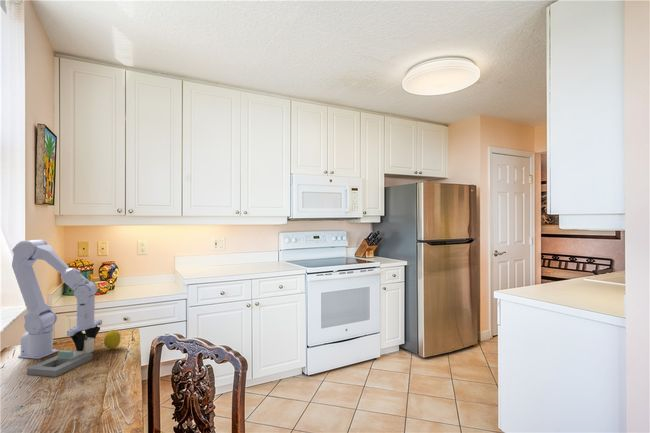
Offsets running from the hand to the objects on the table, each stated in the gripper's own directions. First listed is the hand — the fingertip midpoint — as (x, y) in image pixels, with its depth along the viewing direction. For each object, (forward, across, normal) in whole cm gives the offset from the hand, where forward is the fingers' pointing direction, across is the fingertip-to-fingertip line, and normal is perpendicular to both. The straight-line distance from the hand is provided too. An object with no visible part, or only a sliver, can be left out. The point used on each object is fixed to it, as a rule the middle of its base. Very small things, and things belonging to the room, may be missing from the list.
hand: (85, 348), depth 134 cm
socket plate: (+1, -12, -2) cm, 13 cm away
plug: (+1, 0, 0) cm, 1 cm away
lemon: (+2, +4, -8) cm, 10 cm away
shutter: (-1, -9, -2) cm, 9 cm away
